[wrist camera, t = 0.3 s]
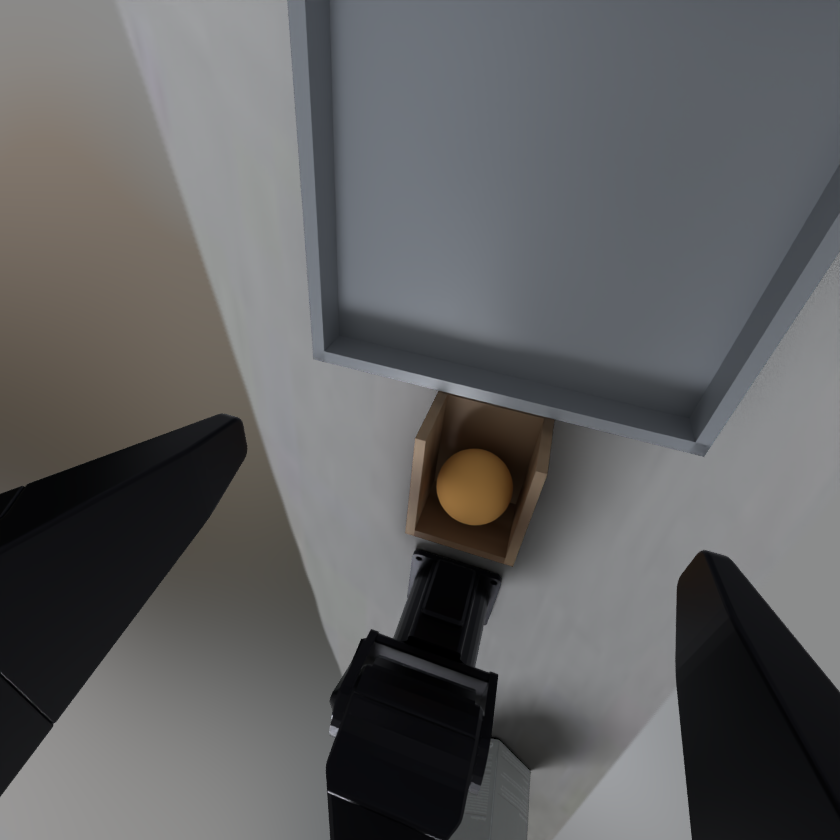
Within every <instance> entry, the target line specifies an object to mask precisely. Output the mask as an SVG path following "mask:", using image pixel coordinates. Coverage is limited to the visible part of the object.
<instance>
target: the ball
mask: <svg viewBox="0 0 840 840" xmlns="http://www.w3.org/2000/svg"><path fill="white" fill-rule="evenodd" d="M436 487H437V495H438V498H439V501H440V503H441V505H442V507H443V509H444V510H445V511H446V512H447V513H448V514H449V515H450V516H451V517H452V518H454V519H455V520H457V521H459V522H461V523H464V524H468V525H483V524H487V523H490V522H492V521H494V520H495V519H497V518H498V517H499V516H501V515H502V514H503V513H504V511H505V510H506V509H507V507H508V505H509V503H510V501H511V498H512V494H513V482H512V477H511V474H510V472H509V470H508V468H507V466H506V465H505V463H504V462H503V461H502V460H501V459H500V458H499V457H498V456H496V455H495V454H493V453H491V452H489V451H486V450H482V449H466V450H462V451H459V452H457V453H456V454H454V455H452V456H451V457H450V458H449V459H448V460H447V461H446V462H445V463H444V464H443V466H442V467H441V469H440V472H439V474H438V478H437V486H436Z"/></svg>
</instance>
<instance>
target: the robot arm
mask: <svg viewBox="0 0 840 840" xmlns="http://www.w3.org/2000/svg"><path fill="white" fill-rule="evenodd" d="M246 454H247V443H246V437H245V432H244V426H243V422H242V421H241V419H239V418H238V417H235V416H231V415H227V414H218V415H215V416H212V417H210V418H207V419H204V420H201V421H199V422H196V423H194V424H190V425H188V426H185V427H182V428H180V429H177V430H174V431H171V432H169V433H166V434H163V435H160V436H158V437H155V438H152V439H150V440H147V441H144V442H141V443H138V444H136V445H133V446H130V447H127V448H125V449H122V450H119V451H117V452H114V453H111V454H108V455H106V456H103V457H100V458H97V459H95V460H92V461H89V462H86V463H84V464H81V465H78V466H75V467H73V468H70V469H67V470H64V471H62V472H59V473H56V474H53V475H51V476H48V477H45V478H43V479H40V480H37V481H34V482H32V483H29V484H27V485H26V486H25V487H24V486H20V487H18V488H15V489H12V490H9V491H7V492H4V493H1V494H0V796H1V795H2V794H3V792H4V791H5V790H6V788H7V787H8V786H9V784H10V783H11V782H12V780H13V779H14V778H15V776H16V775H17V774H18V772H19V771H20V770H21V769H22V767H23V766H24V764H25V763H26V762H27V760H28V759H29V758H30V756H31V755H32V754H33V753H34V751H35V750H36V749H37V747H38V746H39V745H40V743H41V742H42V740H43V739H44V738H45V737H46V735H47V734H48V733H49V731H50V730H51V729H52V727H53V723H55V722H56V721H57V720H58V719H59V717H60V716H61V714H62V713H63V712H64V711H65V709H66V708H67V707H68V705H69V704H70V703H71V701H72V700H73V699H74V697H75V696H76V695H77V693H78V692H79V691H80V689H81V688H82V687H83V685H84V684H85V683H86V681H87V680H88V678H89V677H90V676H91V675H92V673H93V672H94V671H95V669H96V668H97V667H98V665H99V664H100V663H101V661H102V660H103V659H104V657H105V656H106V655H107V653H108V652H109V651H110V649H111V648H112V647H113V645H114V644H115V643H116V641H117V640H118V639H119V637H120V636H121V635H122V633H123V632H124V631H125V629H126V628H127V627H128V625H129V624H130V623H131V621H132V620H133V619H134V617H135V616H136V615H137V613H138V612H139V611H140V609H141V608H142V607H143V605H144V604H145V603H146V601H147V600H148V599H149V597H150V596H151V595H152V593H153V592H154V591H155V589H156V588H157V587H158V585H159V584H160V583H161V581H162V580H163V579H164V577H165V576H166V575H167V573H168V572H169V571H170V569H171V568H172V567H173V565H174V564H175V563H176V561H177V560H178V559H179V557H180V556H181V555H182V553H183V552H184V551H185V549H186V548H187V547H188V545H189V544H190V543H191V541H192V540H193V539H194V537H195V536H196V535H197V533H198V532H199V531H200V529H201V528H202V527H203V525H204V524H205V523H206V521H207V520H208V518H209V517H210V515H211V514H212V512H213V511H214V509H215V507H216V506H217V504H218V503H219V501H220V499H221V498H222V496H223V494H224V492H225V491H226V489H227V487H228V486H229V484H230V482H231V481H232V479H233V477H234V476H235V474H236V472H237V471H238V469H239V467H240V466H241V464H242V462H243V461H244V459H245V457H246ZM501 581H502V578H501V577H500V576H499V575H497V574H494V573H491V572H488V571H485V570H482V569H479V568H476V567H472V566H469V565H466V564H463V563H460V562H457V561H453V560H450V559H447V558H444V557H441V556H438V555H435V554H431V553H428V552H425V551H422V550H415V551H414V554H413V556H412V563H411V571H410V579H409V587H408V595H407V598H408V599H407V602H406V604H405V607H404V610H403V613H402V615H401V618H400V621H399V624H398V627H397V629H396V632H395V635H394V638H391V637H388V636H385V635H382V634H379V632H378V631H375V630H372V629H371V630H370V632H369V634H368V636H367V638H364V639H361V641H360V643H359V646H358V648H357V650H356V653H355V655H354V657H353V660H352V662H351V664H350V665H349V667H348V669H347V670H346V672H345V673H344V675H343V676H342V678H341V680H340V681H339V683H338V684H337V686H336V688H335V689H334V691H333V692H332V695H331V697H330V705H331V708H332V711H333V712H332V718H331V720H332V721H331V725H330V732H329V734H330V736H332V737H334V738H335V740H334V743H333V746H332V749H331V752H330V755H329V757H328V760H327V764H326V779H327V795H328V809H329V824H330V840H449V839H450V837H451V836H452V835H453V833H454V832H455V831H456V830H457V828H458V827H459V825H460V824H461V822H462V819H463V815H464V810H465V805H466V800H467V795H468V792H469V793H471V794H474V795H478V793H479V790H480V787H481V784H482V780H483V776H484V772H485V768H486V763H487V759H488V753H489V748H490V741H491V734H492V725H493V716H494V708H495V699H496V690H497V681H498V674H496V673H493V672H489V673H488V672H486V671H483V670H480V669H477V668H475V665H476V660H477V655H478V650H479V645H480V640H481V636H482V631H483V626H484V625H486V624H487V622H488V619H489V616H490V614H491V611H492V608H493V605H494V603H495V600H496V597H497V594H498V591H499V589H500V586H501ZM675 663H676V685H677V694H678V705H679V714H680V725H681V735H682V744H683V755H684V765H685V775H686V784H687V795H688V804H689V815H690V824H691V834H692V840H840V692H839V690H838V689H837V688H836V687H835V686H834V684H833V683H832V682H831V681H830V679H829V678H828V677H827V676H826V675H825V673H824V672H823V671H822V670H821V668H820V667H819V666H818V665H817V664H816V662H815V661H814V660H813V659H812V657H811V656H810V655H809V654H808V653H807V652H806V650H805V649H804V648H803V647H802V645H801V644H800V643H799V642H798V640H797V639H796V638H795V637H794V635H793V634H792V633H791V632H790V631H789V629H788V628H787V627H786V626H785V624H784V623H783V622H782V621H781V620H780V618H779V617H778V616H777V615H776V614H775V612H774V611H773V610H772V609H771V607H770V606H769V605H768V604H767V602H766V601H765V600H764V599H763V598H762V596H761V595H760V594H759V593H758V591H757V590H756V589H755V588H754V587H753V585H752V584H751V583H750V582H749V580H748V579H747V578H746V577H745V576H744V574H743V573H742V572H741V571H740V570H739V568H738V567H737V566H736V565H735V563H734V562H733V561H732V560H731V559H730V558H729V557H727V556H724V555H721V554H717V553H714V552H710V551H707V550H703V551H700V552H699V553H698V554H697V555H696V556H695V557H694V559H693V560H692V561H691V563H690V564H689V565H688V567H687V568H686V569H685V571H684V572H683V573H682V574H681V576H680V578H679V580H678V584H677V605H676V655H675Z"/></svg>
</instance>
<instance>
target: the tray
mask: <svg viewBox="0 0 840 840" xmlns="http://www.w3.org/2000/svg"><path fill="white" fill-rule="evenodd" d="M287 2H288V16H289V30H290V43H291V57H292V71H293V85H294V98H295V112H296V126H297V139H298V153H299V167H300V181H301V194H302V208H303V222H304V236H305V249H306V263H307V277H308V290H309V304H310V318H311V332H312V345H313V359H315V360H319V361H323V362H327V363H331V364H335V365H339V366H343V367H347V368H351V369H355V370H359V371H363V372H367V373H371V374H375V375H379V376H383V377H387V378H391V379H395V380H399V381H403V382H407V383H411V384H415V385H419V386H423V387H427V388H431V389H435V390H439V391H443V392H447V393H451V394H455V395H459V396H463V397H467V398H471V399H475V400H479V401H483V402H487V403H491V404H495V405H499V406H503V407H507V408H511V409H515V410H519V411H523V412H527V413H531V414H535V415H539V416H543V417H547V418H551V419H555V420H559V421H563V422H567V423H571V424H575V425H579V426H583V427H587V428H591V429H595V430H599V431H603V432H607V433H611V434H615V435H619V436H623V437H627V438H631V439H635V440H639V441H643V442H647V443H651V444H655V445H659V446H663V447H667V448H671V449H675V450H679V451H683V452H687V453H691V454H695V455H699V456H703V457H704V456H705V455H706V453H707V451H708V450H709V448H710V447H711V445H712V444H713V442H714V441H715V439H716V438H717V436H718V435H719V433H720V432H721V430H722V429H723V427H724V426H725V424H726V423H727V421H728V420H729V418H730V417H731V415H732V414H733V412H734V411H735V409H736V408H737V406H738V405H739V403H740V402H741V400H742V399H743V397H744V396H745V394H746V392H747V391H748V389H749V388H750V386H751V385H752V383H753V382H754V380H755V379H756V377H757V376H758V374H759V373H760V371H761V370H762V368H763V367H764V365H765V364H766V362H767V361H768V359H769V358H770V356H771V355H772V353H773V352H774V350H775V349H776V347H777V346H778V344H779V343H780V341H781V340H782V338H783V337H784V335H785V333H786V332H787V330H788V329H789V327H790V326H791V324H792V323H793V321H794V320H795V318H796V317H797V315H798V314H799V312H800V311H801V309H802V308H803V306H804V305H805V303H806V302H807V300H808V299H809V297H810V296H811V294H812V293H813V291H814V290H815V288H816V287H817V285H818V284H819V282H820V281H821V279H822V278H823V276H824V274H825V273H826V271H827V270H828V268H829V267H830V265H831V264H832V262H833V261H834V259H835V258H836V256H837V255H838V253H839V252H840V0H287Z"/></svg>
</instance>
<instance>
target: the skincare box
mask: <svg viewBox="0 0 840 840" xmlns="http://www.w3.org/2000/svg"><path fill="white" fill-rule="evenodd" d="M530 774H531V771H530V770H529V769H528V768H527V767H526V766H525V765H524V764H523V763H522V762H521V761H520V760H519V759H518V758H517V757H516V756H515V755H514V754H513V753H512V752H511V751H510V750H509V749H508V748H507V747H506V746H505V745H504V744H503V743H502V742H501V741H500V740H497V739H491V741H490V748H489V753H488V759H487V763H486V768H485V772H484V776H483V780H482V784H481V787H480V790H479V793H478V795H474V794H471V793H469V792H468V795H467V800H466V805H465V810H464V815H463V819H462V822H461V824H460V825H459V827H458V828H457V830H456V831H455V832H454V833H453V835H452V836H451V837H450V839H449V840H527V831H528V810H529V789H530Z"/></svg>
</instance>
